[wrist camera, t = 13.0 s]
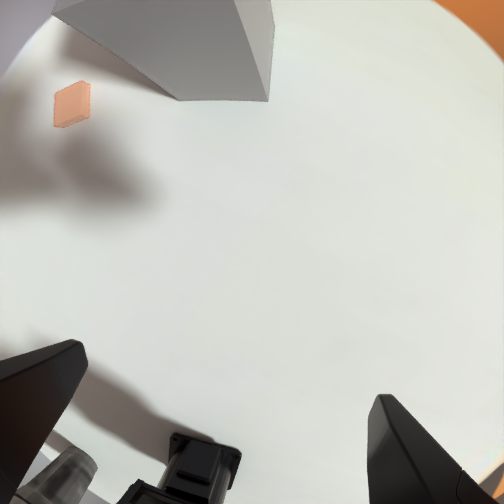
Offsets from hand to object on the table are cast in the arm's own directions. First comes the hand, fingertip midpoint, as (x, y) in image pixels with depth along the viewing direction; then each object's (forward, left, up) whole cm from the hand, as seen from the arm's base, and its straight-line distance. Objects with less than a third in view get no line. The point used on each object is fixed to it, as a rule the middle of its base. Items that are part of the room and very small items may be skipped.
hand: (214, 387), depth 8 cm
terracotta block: (+10, +17, -13) cm, 24 cm away
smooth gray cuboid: (+14, +5, -12) cm, 19 cm away
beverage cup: (-29, +16, -13) cm, 36 cm away
